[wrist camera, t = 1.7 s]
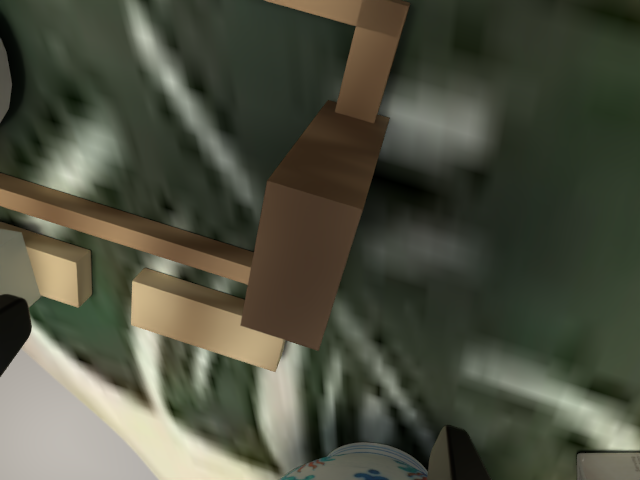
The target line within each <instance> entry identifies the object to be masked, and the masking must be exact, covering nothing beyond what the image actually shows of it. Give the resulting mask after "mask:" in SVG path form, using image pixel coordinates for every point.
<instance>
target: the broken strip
mask: <svg viewBox="0 0 640 480" xmlns="http://www.w3.org/2000/svg"><path fill="white" fill-rule="evenodd" d="M0 229H5V230H11V231H17V232H22V236H23V239H24V242H25V246H26V249H27V252H28V256H29V259H30V262H31V266H32V269H33V272H34V276H35V279H36V282H37V286H38V289H39V292H40V295H41V296H44V297H47V298H51V299H54V300H57V301H60V302H63V303H66V304H69V305H72V306H75V307H78V308H79V307H80V306H81V305H82V304H83V303H84V302H85V301H86V300H87V299H88V298H89V297H90V296H91V295H92V276H91V250H88V249H84V248H81V247H78V246H75V245H72V244H69V243H66V242H62V241H59V240H56V239H53V238H50V237H47V236H44V235H41V234H37V233H34V232H31V231H28V230H25V229H22V228H19V227H16V226H12V225H9V224H6V223H3V222H0ZM244 303H245V300H244V299H241V298H238V297H235V296H231V295H228V294H225V293H222V292H219V291H216V290H213V289H210V288H206V287H203V286H200V285H197V284H194V283H191V282H188V281H185V280H181V279H178V278H175V277H172V276H169V275H166V274H163V273H159V272H156V271H153V270H150V269H147V268H144V269H143V270H142V271H141V272H140V273H139V274H138V275H137V276H136V278H135V279H134V280H133V281H132V317H131V325H133V326H136V327H139V328H142V329H145V330H148V331H151V332H154V333H157V334H160V335H164V336H167V337H170V338H173V339H176V340H179V341H182V342H185V343H188V344H191V345H194V346H197V347H200V348H203V349H206V350H209V351H212V352H215V353H219V354H222V355H225V356H228V357H231V358H234V359H237V360H240V361H243V362H246V363H249V364H252V365H255V366H258V367H261V368H264V369H267V370H270V371H274V372H276V369H277V366H278V364H279V361H280V359H281V356H282V352H283V349H284V345H285V341H286V340H283V339H280V338H277V337H274V336H271V335H268V334H265V333H262V332H259V331H256V330H252V329H249V328H246V327H243V326H240V324H241V319H242V314H243V308H244Z"/></svg>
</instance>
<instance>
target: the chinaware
mask: <svg viewBox="0 0 640 480" xmlns="http://www.w3.org/2000/svg"><path fill="white" fill-rule="evenodd" d="M427 476H428V471H427V470H426V469H425V467H424V466H423V465H422V464H421V463H420V462H419V461H417V460H416V459H415V458H414V457H412V456H411V455H409V454H407V453H405V452H403V451H401V450H399V449H397V448H394V447H391V446H388V445H384V444H378V443H369V442H360V443H352V444H347V445H344V446H341V447H339V448H337V449H335V450H334V451H332V452H331V453H330V454H329V455H328V456H327V457H324V458H321V459H317V460H314V461H312V462H309V463H307V464H304V465H302V466H300V467H298V468H296V469H294V470H293V471H291V472H289V473H287V474H286V475H284V476H283V477H281V478H280V479H279V480H427Z"/></svg>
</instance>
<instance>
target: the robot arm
mask: <svg viewBox="0 0 640 480" xmlns="http://www.w3.org/2000/svg"><path fill="white" fill-rule="evenodd" d="M31 328H32V325H31V319H30V313H29V307H28V303H27V301H26V300H25V299H24V298H21V297H18V296H15V295H11V294H3V295H0V377H1V375H2V374H3V373H4V371H5V370H6V369H7V367H8V366H9V364H10V363H11V362H12V360H13V359H14V357H15V356H16V355H17V353H18V352H19V350H20V349H21V348H22V346H23V345H24V343H25V342H26V341H27V339H28V337H29V335H30V333H31ZM427 480H491V478H490V476H489V474H488V472H487V470H486V468H485V466H484V464H483V462H482V460H481V458H480V456H479V454H478V452H477V451H476V449H475V447H474V445H473V443H472V441H471V439H470V437H469V435H468V433H467V432H466V431H465V430H464V429H461V428H457V427H454V426H451V425H445V426H444V427H443V428H442V430H441V432H440V434H439V436H438V438H437V440H436V442H435V444H434V446H433V448H432V451H431V454H430V459H429V467H428V476H427Z"/></svg>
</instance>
